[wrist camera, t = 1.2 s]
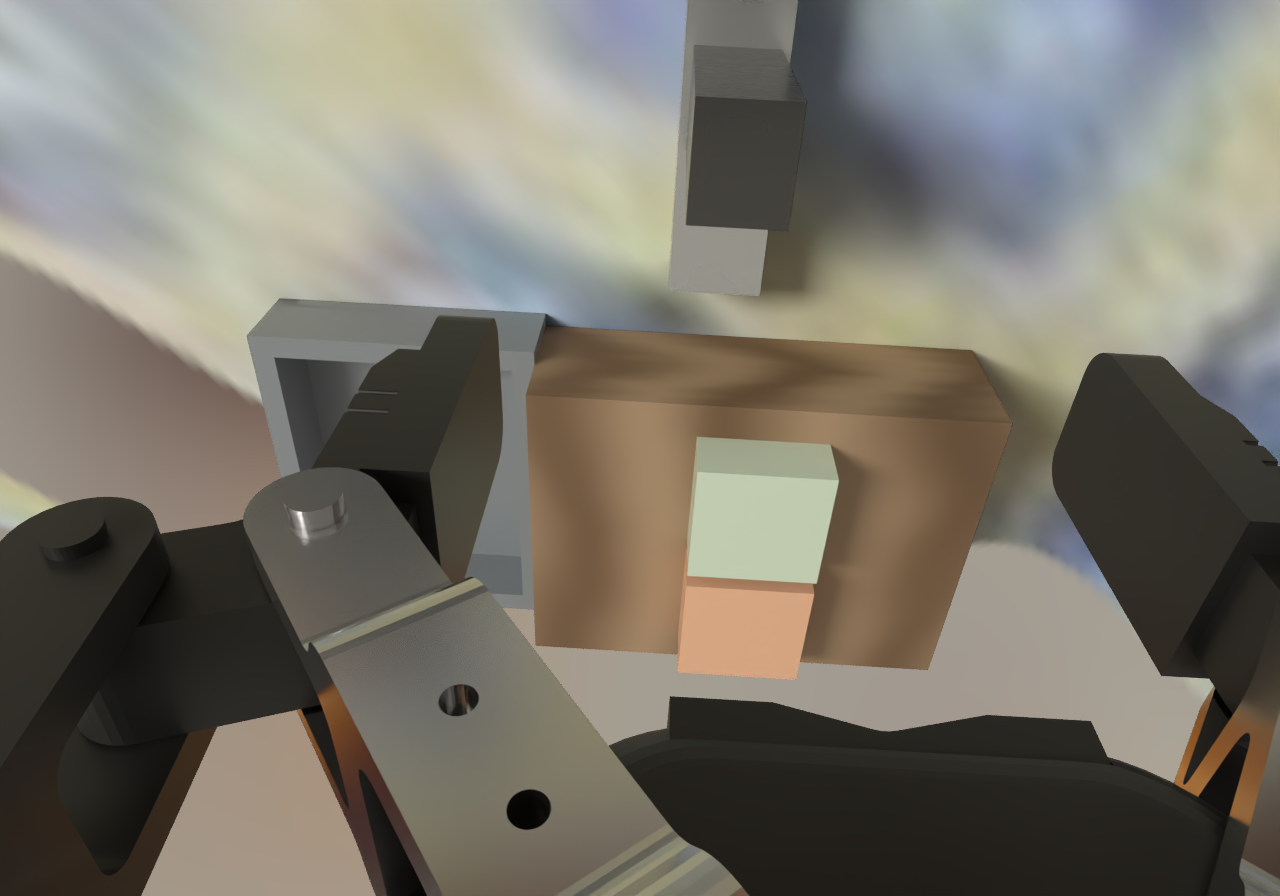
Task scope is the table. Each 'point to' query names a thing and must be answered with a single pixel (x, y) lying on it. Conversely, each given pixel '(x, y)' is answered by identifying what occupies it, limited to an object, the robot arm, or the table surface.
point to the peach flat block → (742, 626)
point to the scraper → (734, 143)
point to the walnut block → (767, 411)
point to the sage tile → (760, 509)
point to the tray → (330, 377)
